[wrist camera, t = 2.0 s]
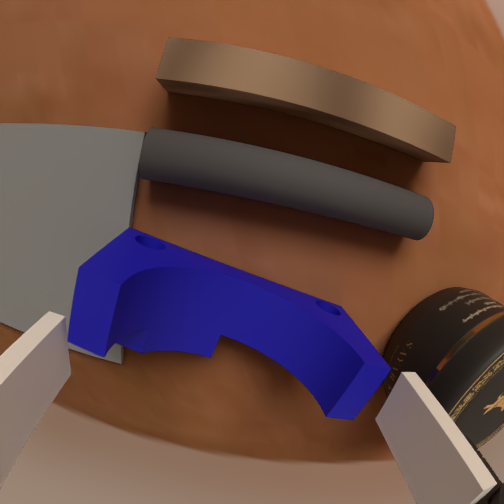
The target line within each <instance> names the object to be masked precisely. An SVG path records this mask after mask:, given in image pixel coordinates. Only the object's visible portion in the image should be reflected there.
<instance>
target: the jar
mask: <svg viewBox="0 0 504 504" xmlns="http://www.w3.org/2000/svg"><path fill="white" fill-rule="evenodd" d="M384 360H385V361H386V363H387V364H388V365H389V366H390V368H391V370H390V372H389V373H388V374H387V376H386V377H385V379H384V380H383V382H384V387H385V391H386V394H387V397H389V395H390V393H391V391H392V389H393V388H394V386H395V384H396V382H397V380H398V378H399V376H400V374H401V372H416V374H417V375H418V376H419V377H420V379H421V380H422V381H423V383H424V384H425V385H426V386H427V388H428V389H429V390H430V391H431V393H432V394H433V395H434V397H435V398H436V399H437V401H438V402H439V403H440V404H441V406H442V407H443V408H444V410H445V411H446V412H447V414H448V415H449V416H450V418H451V419H452V420H453V422H454V423H455V424H456V426H457V427H458V428H459V430H460V431H461V433H463V434H464V435H466V436H467V437H468V438H469V439H471V440H472V442H473V443H474V444H475V446H476V447H477V449H478V448H479V447H481V446H482V445H484V444H485V443H486V442H487V441H489V440H490V439H491V438H492V437H493V436H495V434H497V433H498V432H499V431H500V430H501V429H502V428H503V427H504V306H503V305H502V304H500V303H499V302H497V301H495V300H494V299H492V298H491V297H489V296H487V295H486V294H484V293H482V292H479V291H476V290H472V289H467V288H461V287H453V288H447V289H444V290H441V291H439V292H437V293H435V294H433V295H431V296H429V297H427V298H426V299H424V300H423V301H421V302H420V303H419V304H418V305H416V306H415V307H414V308H413V309H412V310H411V311H410V312H409V313H408V314H407V315H406V316H405V318H404V319H403V320H402V321H401V323H400V324H399V325H398V327H397V328H396V330H395V332H394V333H393V335H392V337H391V339H390V341H389V344H388V346H387V349H386V352H385V355H384Z"/></svg>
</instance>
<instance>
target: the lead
mask: <svg viewBox="0 0 504 504" xmlns="http://www.w3.org/2000/svg"><path fill="white" fill-rule="evenodd" d="M139 172H140V176H141V178H142V179H147V180H153V181H159V182H165V183H170V184H176V185H181V186H187V187H192V188H198V189H203V190H208V191H213V192H219V193H224V194H229V195H233V196H238V197H243V198H248V199H253V200H257V201H262V202H267V203H271V204H276V205H280V206H285V207H289V208H293V209H298V210H302V211H306V212H311V213H315V214H319V215H323V216H327V217H331V218H335V219H339V220H343V221H347V222H351V223H355V224H359V225H363V226H367V227H370V228H374V229H378V230H382V231H385V232H389V233H393V234H396V235H400V236H403V237H407V238H410V239H414V240H420V239H422V238H424V237H425V236H426V235H427V233H428V232H429V230H430V228H431V226H432V223H433V218H434V208H433V204H432V202H431V200H430V199H429V198H427V197H425V196H422V195H420V194H417V193H414V192H412V191H409V190H406V189H404V188H401V187H398V186H395V185H392V184H389V183H387V182H384V181H381V180H378V179H375V178H372V177H369V176H366V175H362V174H359V173H356V172H353V171H350V170H346V169H343V168H340V167H336V166H333V165H329V164H326V163H322V162H319V161H315V160H312V159H308V158H304V157H300V156H296V155H292V154H289V153H285V152H280V151H276V150H272V149H268V148H263V147H259V146H255V145H250V144H245V143H241V142H236V141H231V140H226V139H221V138H215V137H210V136H204V135H199V134H193V133H187V132H180V131H174V130H167V129H160V128H151V129H150V130H149V131H148V133H147V134H146V137H145V139H144V142H143V145H142V149H141V154H140V161H139Z"/></svg>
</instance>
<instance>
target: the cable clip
mask: <svg viewBox="0 0 504 504" xmlns="http://www.w3.org/2000/svg"><path fill="white" fill-rule="evenodd" d="M221 335H223V336H226V337H228V338H231V339H234V340H236V341H239V342H241V343H243V344H246V345H248V346H250V347H252V348H254V349H256V350H257V351H259V352H261V353H263V354H265V355H266V356H268V357H270V358H271V359H273V360H274V361H276V362H277V363H279V364H280V365H281V366H283V367H284V368H286V369H287V370H288V371H289V372H291V373H292V374H293V375H294V376H295V377H296V378H297V379H298V380H300V381H301V382H302V383H303V384H304V386H305V387H306V388H307V389H308V390H309V391H310V392H311V393H312V395H313V396H314V397H315V399H316V400H317V402H318V403H319V405H320V406H321V408H322V410H323V412H324V414H325V416H326V417H330V418H338V419H348V420H353V419H354V418H355V417H356V416H357V414H358V413H359V412H360V411H361V409H362V408H363V407H364V406H365V404H366V403H367V402H368V400H369V399H370V398H371V396H372V395H373V394H374V392H375V391H376V390H377V388H378V387H379V386H380V384H381V383H382V381H383V380H384V379H385V377H386V376H387V374H388V373H389V372H390V370H391V368H390V366H389V365H388V364H387V363H386V361H385V360H384V359H383V358H382V356H381V355H380V354H379V352H378V351H377V350H376V349H375V347H374V346H373V345H372V344H371V342H370V341H369V340H368V339H367V337H366V336H365V335H364V334H363V333H362V331H361V330H360V329H359V328H358V326H357V325H356V324H355V323H354V321H353V320H352V319H351V318H350V317H349V315H348V314H347V313H346V312H345V310H344V309H343V308H342V307H341V306H339V305H336V304H333V303H330V302H327V301H324V300H322V299H319V298H316V297H313V296H310V295H308V294H305V293H302V292H299V291H297V290H294V289H291V288H288V287H286V286H283V285H280V284H277V283H275V282H272V281H269V280H266V279H264V278H261V277H258V276H256V275H253V274H250V273H247V272H245V271H242V270H239V269H237V268H234V267H231V266H229V265H226V264H223V263H221V262H218V261H215V260H213V259H210V258H208V257H205V256H202V255H200V254H197V253H194V252H192V251H189V250H187V249H184V248H181V247H179V246H176V245H174V244H171V243H168V242H166V241H163V240H161V239H158V238H156V237H153V236H150V235H148V234H145V233H143V232H140V231H138V230H135V229H133V228H130V227H129V228H128V229H126V230H125V231H124V232H122V233H121V234H120V235H118V236H117V237H116V238H115V239H113V240H112V241H111V242H109V243H108V244H107V245H106V246H104V247H103V248H102V249H101V250H99V251H98V252H97V253H96V254H94V255H93V256H92V257H91V258H89V259H88V260H87V261H86V262H84V263H83V264H82V265H81V266H80V267H79V269H78V273H77V279H76V284H75V289H74V295H73V301H72V308H71V314H70V322H69V329H68V338H67V342H69V343H71V344H74V345H76V346H78V347H80V348H82V349H85V350H87V351H89V352H91V353H94V354H96V355H98V356H101V357H103V358H104V357H105V356H106V354H107V352H108V351H109V350H110V348H111V347H112V346H113V345H114V344H115V343H116V344H119V345H121V346H124V347H126V348H129V349H131V350H134V351H137V352H139V353H146V352H152V351H181V352H188V353H193V354H198V355H202V356H206V357H210V358H211V356H212V353H213V351H214V349H215V347H216V344H217V342H218V340H219V338H220V336H221Z"/></svg>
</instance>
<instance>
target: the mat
mask: <svg viewBox="0 0 504 504" xmlns="http://www.w3.org/2000/svg"><path fill="white" fill-rule="evenodd" d="M146 134H147V133H146V132H140V131H132V130H123V129H114V128H103V127H92V126H78V125H61V124H32V123H0V322H1V323H3V324H6V325H8V326H10V327H13V328H15V329H17V330H20V331H22V332H26V331H27V330H29V329H30V328H31V327H32V326H33V325H34V324H35V323H36V322H37V321H39V320H40V319H41V318H42V317H43V316H44V315H45V314H46V313H48V312H49V311H50V312H53V313H56V314H59V315H62V316H65V317H66V331H67V338H68V329H69V322H70V314H71V308H72V301H73V295H74V289H75V284H76V279H77V273H78V269H79V267H80V266H81V265H82V264H83V263H84V262H86V261H87V260H88V259H89V258H91V257H92V256H93V255H94V254H96V253H97V252H98V251H99V250H101V249H102V248H103V247H104V246H106V245H107V244H108V243H109V242H111V241H112V240H113V239H115V238H116V237H117V236H118V235H120V234H121V233H122V232H124V231H125V230H126V229H128V228H129V227H130V228H132V220H133V213H134V206H135V199H136V192H137V186H138V180H139V175H140V172H139V161H140V154H141V149H142V145H143V142H144V139H145V137H146ZM68 348H69V349H72V350H75V351H78V352H81V353H84V354H88V355H91V356H94V357H98V358H101V359H104V360H108V361H112V362H115V363H119V364H122V362H123V360H124V346H121V345H119V344H116V343H115V344H114V345H113V346H112V347H111V348H110V350H109V351H108V352H107V354H106V356H105V357H104V358H103V357H101V356H98V355H96V354H94V353H91V352H89V351H87V350H85V349H82V348H80V347H78V346H76V345H74V344H71V343H69V342H68Z"/></svg>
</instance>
